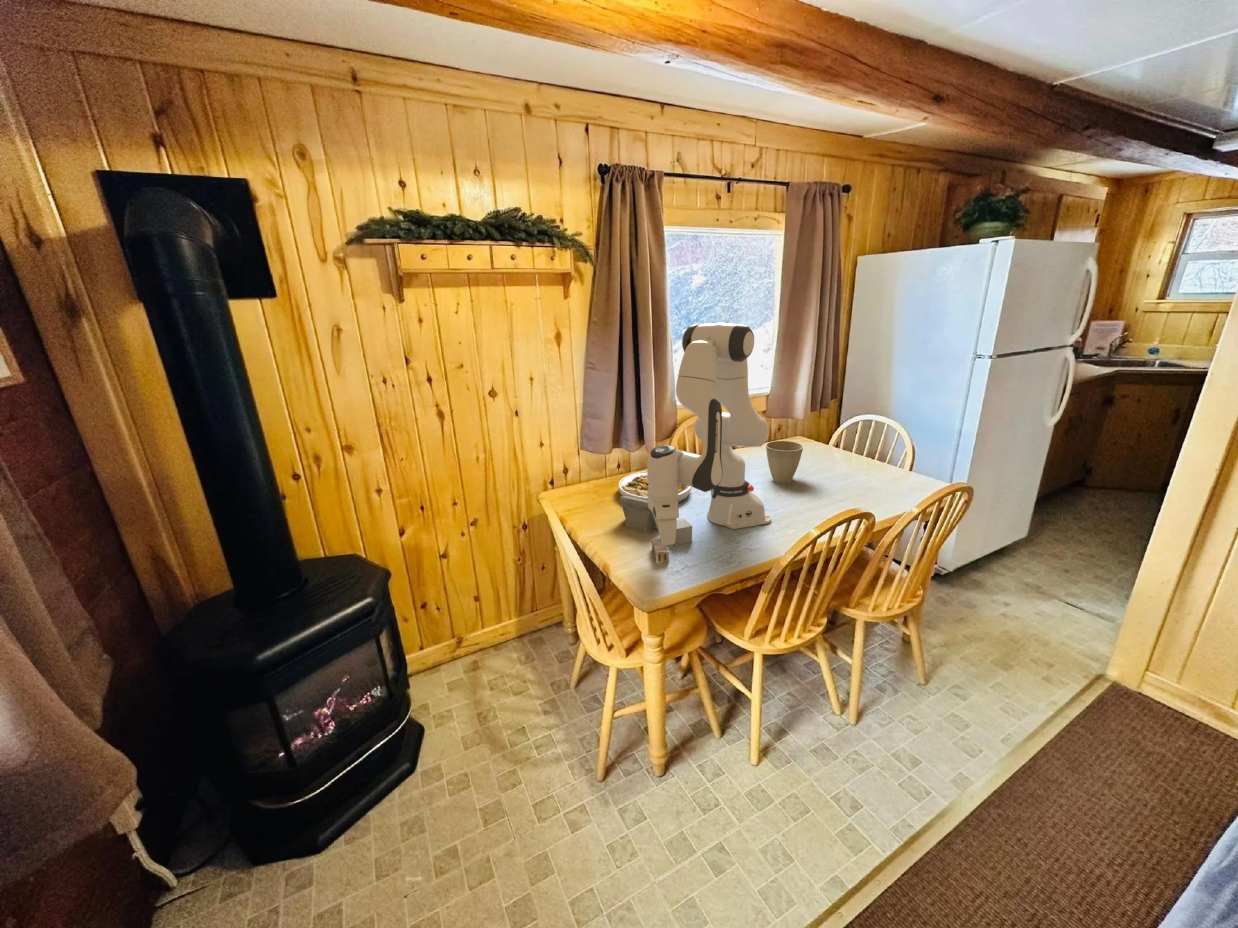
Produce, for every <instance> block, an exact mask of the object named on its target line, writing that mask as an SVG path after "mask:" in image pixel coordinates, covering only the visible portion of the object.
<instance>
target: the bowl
mask: <svg viewBox="0 0 1238 928" xmlns="http://www.w3.org/2000/svg"><path fill="white" fill-rule="evenodd" d="M648 488H649V482H648V479H647V470H642V471H638V472H634V473H630V474H628V475H626V476H624V477H621V479H620V480H619V482H618V490H619V493H620V495H621V497H622V496H627V497H632V498H636V499H640V500H645V501H648ZM677 488H678V503H680V502H681V501H683V500H685V499H686V498H687V497H688V496H689V494H690V493H691V491H692V487H691V486H687V485H684V484H680V483H679V484H677Z"/></svg>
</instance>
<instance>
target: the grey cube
mask: <svg viewBox="0 0 1238 928" xmlns="http://www.w3.org/2000/svg"><path fill="white" fill-rule="evenodd" d="M689 543H693V525H692V524H691V523H690V522H689V521H688V520H687V519H685V518H681V519H679V518H678V519H677V528H676V539H675V543H674V544H673V545H675V546H679V545H685V544H689Z"/></svg>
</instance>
